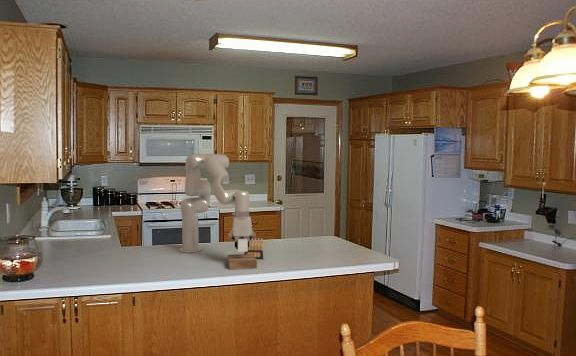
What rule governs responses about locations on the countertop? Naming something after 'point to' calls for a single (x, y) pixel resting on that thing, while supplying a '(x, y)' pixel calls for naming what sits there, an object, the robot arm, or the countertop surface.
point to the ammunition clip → (255, 249)
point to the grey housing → (242, 244)
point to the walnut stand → (242, 261)
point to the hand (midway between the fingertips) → (242, 248)
